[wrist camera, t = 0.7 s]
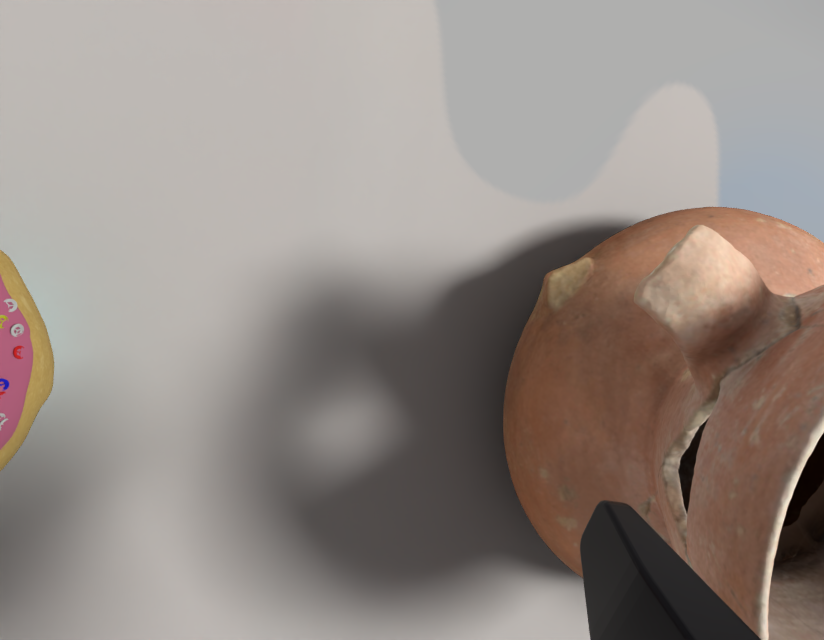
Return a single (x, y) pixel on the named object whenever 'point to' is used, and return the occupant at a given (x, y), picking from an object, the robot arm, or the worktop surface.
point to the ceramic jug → (685, 405)
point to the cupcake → (20, 360)
